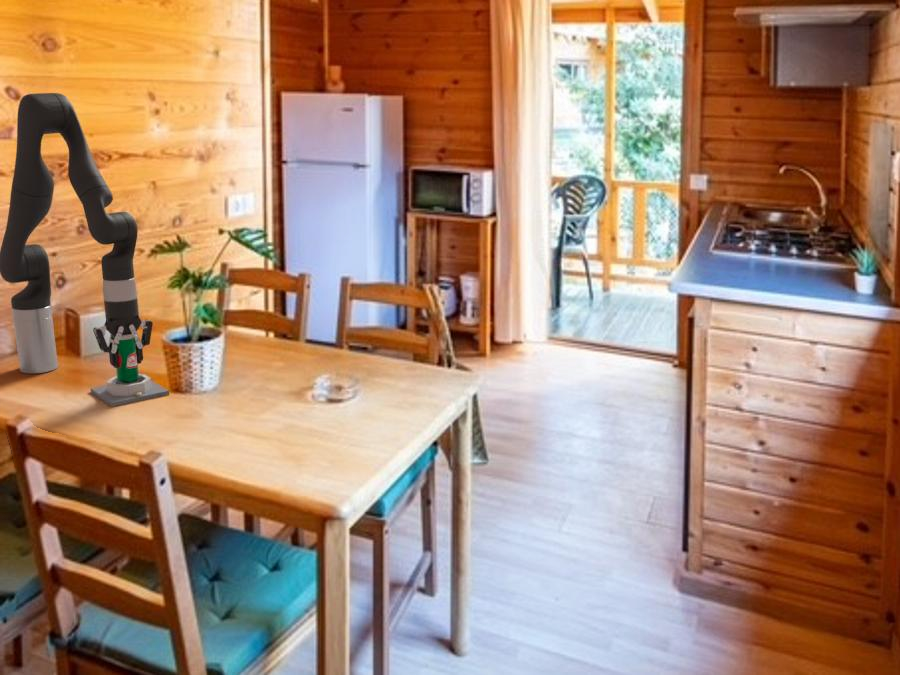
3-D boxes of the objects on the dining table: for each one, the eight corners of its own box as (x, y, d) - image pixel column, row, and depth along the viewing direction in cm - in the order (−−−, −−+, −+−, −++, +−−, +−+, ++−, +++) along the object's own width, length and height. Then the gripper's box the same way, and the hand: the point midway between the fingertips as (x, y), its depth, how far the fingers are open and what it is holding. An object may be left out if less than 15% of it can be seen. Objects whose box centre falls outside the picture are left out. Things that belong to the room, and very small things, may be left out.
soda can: (132, 384, 207) (127, 336, 203) (113, 383, 207) (108, 335, 204) (143, 378, 211) (139, 331, 208) (124, 376, 212) (120, 330, 209)
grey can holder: (90, 392, 211) (89, 378, 210) (146, 380, 220) (145, 367, 219) (111, 406, 201) (110, 392, 200) (169, 394, 210) (168, 381, 209)
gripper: (143, 290, 211) (149, 356, 216) (84, 298, 202) (91, 367, 207) (156, 295, 206) (161, 363, 210) (95, 303, 197) (102, 374, 201)
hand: (127, 364), depth 208 cm, fingers closed on soda can, 5 cm apart
